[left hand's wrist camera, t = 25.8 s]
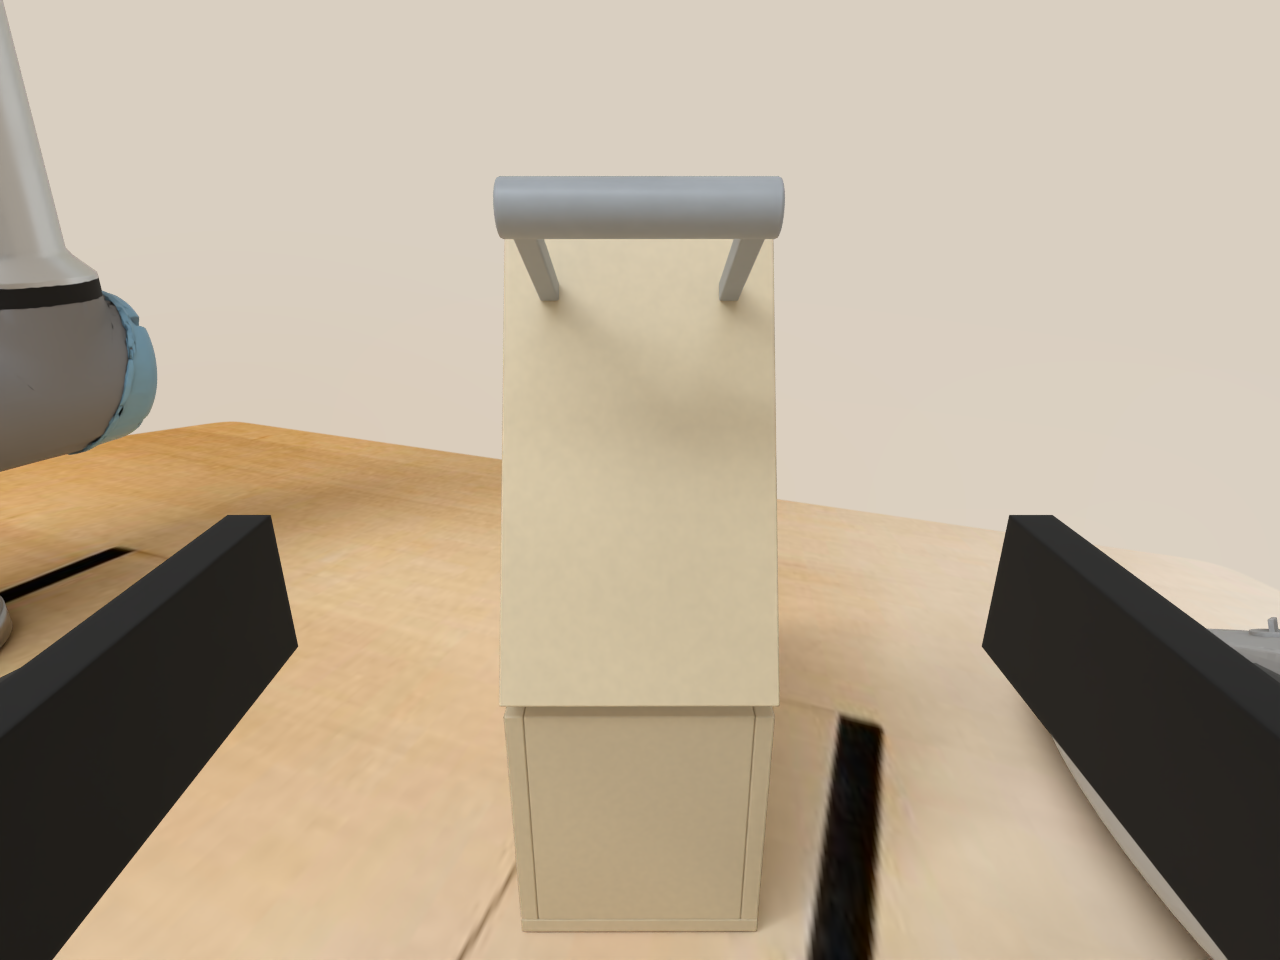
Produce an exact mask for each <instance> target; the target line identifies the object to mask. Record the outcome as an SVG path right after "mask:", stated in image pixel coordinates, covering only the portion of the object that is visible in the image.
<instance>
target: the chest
mask: <svg viewBox="0 0 1280 960" xmlns="http://www.w3.org/2000/svg"><path fill="white" fill-rule="evenodd" d="M774 721H775V716H774V712H773V708H772V706H611V707H506V710H505V714H504V727H505V738H506V750H507V761H508V773H509V784H510V796H511V807H512V819H513V830H514V842H515V853H516V865H517V876H518V888H519V899H520V911H521V924H522V931H523V932H617V931H757V921H758V919H757V917H758V908H759V896H760V885H761V873H762V861H763V850H764V838H765V826H766V815H767V803H768V791H769V780H770V768H771V756H772V745H773V733H774Z"/></svg>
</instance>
